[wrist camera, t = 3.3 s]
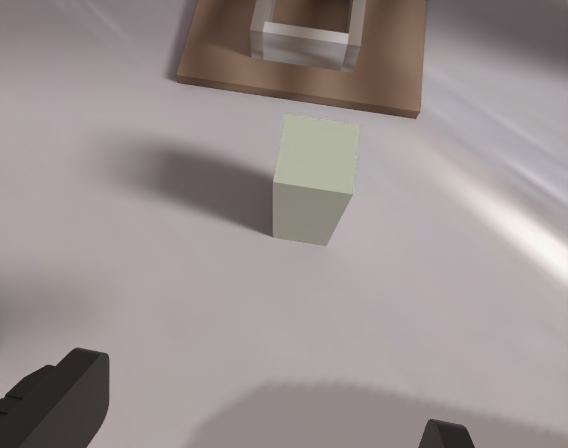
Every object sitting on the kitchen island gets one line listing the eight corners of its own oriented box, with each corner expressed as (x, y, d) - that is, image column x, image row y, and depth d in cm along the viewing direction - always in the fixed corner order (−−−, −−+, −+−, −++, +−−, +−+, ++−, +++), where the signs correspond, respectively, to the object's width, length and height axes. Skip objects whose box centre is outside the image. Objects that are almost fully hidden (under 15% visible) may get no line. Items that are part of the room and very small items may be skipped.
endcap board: (423, -10, 37) (441, -51, 33) (415, 118, 32) (435, 87, 28) (214, -40, 37) (207, -84, 33) (179, 82, 33) (166, 47, 29)
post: (332, 196, 30) (360, 124, 20) (326, 245, 29) (352, 194, 19) (281, 188, 30) (285, 113, 21) (272, 237, 29) (272, 181, 19)
